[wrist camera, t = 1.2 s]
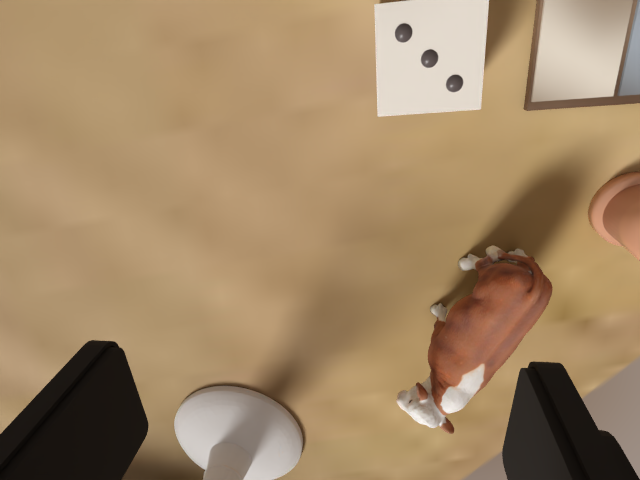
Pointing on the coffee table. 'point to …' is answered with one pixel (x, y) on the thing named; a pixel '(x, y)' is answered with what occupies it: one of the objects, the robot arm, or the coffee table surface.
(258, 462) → the candlestick
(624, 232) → the pawn
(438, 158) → the coffee table surface
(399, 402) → the bull figurine
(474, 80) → the die
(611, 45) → the board
